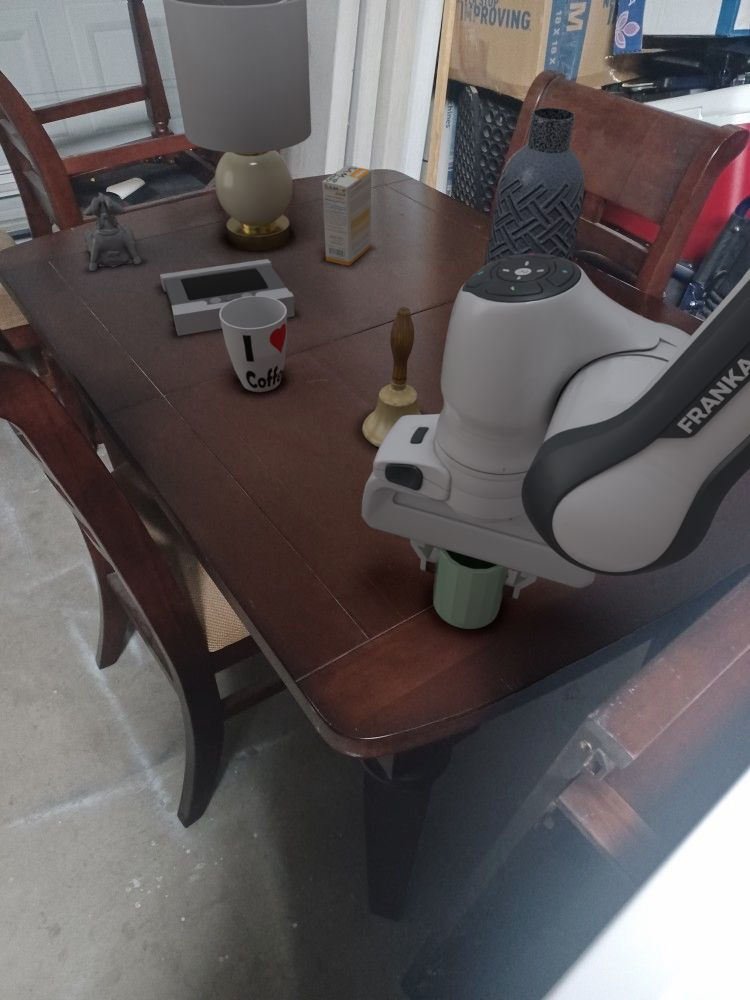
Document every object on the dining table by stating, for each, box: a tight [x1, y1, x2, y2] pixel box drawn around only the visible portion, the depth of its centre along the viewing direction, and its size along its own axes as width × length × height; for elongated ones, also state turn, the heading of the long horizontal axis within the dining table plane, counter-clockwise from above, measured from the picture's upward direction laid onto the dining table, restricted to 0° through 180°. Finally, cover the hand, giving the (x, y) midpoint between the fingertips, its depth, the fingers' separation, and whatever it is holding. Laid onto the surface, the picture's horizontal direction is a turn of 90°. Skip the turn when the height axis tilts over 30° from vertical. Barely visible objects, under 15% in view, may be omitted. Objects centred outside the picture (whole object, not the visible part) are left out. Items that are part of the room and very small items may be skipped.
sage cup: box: [432, 547, 510, 630], centre depth 63 cm, size 6×6×8 cm
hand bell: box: [361, 306, 423, 448], centre depth 79 cm, size 8×8×16 cm
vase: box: [483, 107, 585, 266], centre depth 93 cm, size 12×12×28 cm
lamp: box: [162, 0, 312, 252], centre depth 110 cm, size 20×20×35 cm
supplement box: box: [321, 164, 372, 267], centre depth 114 cm, size 8×5×13 cm, turn 153°
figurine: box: [82, 192, 143, 272], centre depth 113 cm, size 8×10×11 cm
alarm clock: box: [159, 258, 296, 337], centre depth 105 cm, size 17×5×16 cm
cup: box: [219, 296, 288, 393], centre depth 88 cm, size 8×8×10 cm
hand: (469, 578), depth 63 cm, fingers closed on sage cup, 6 cm apart
